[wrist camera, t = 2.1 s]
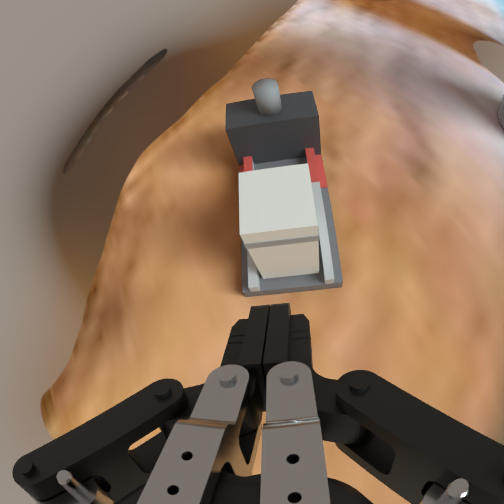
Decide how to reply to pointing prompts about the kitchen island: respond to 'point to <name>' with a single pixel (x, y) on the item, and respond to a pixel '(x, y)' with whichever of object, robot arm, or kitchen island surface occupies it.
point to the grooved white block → (279, 220)
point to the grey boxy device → (277, 155)
